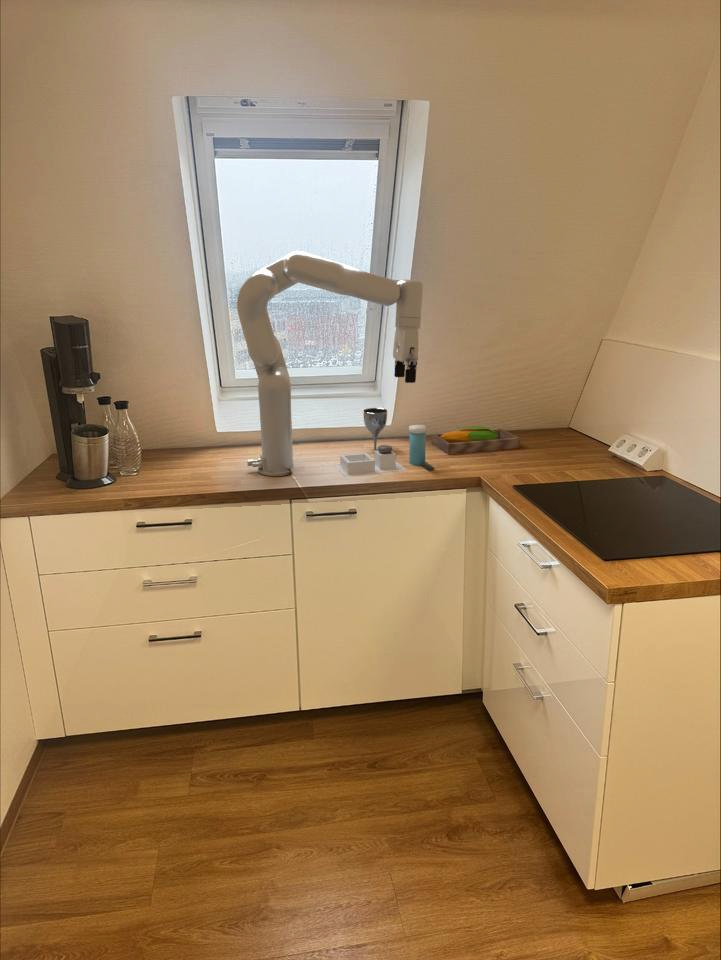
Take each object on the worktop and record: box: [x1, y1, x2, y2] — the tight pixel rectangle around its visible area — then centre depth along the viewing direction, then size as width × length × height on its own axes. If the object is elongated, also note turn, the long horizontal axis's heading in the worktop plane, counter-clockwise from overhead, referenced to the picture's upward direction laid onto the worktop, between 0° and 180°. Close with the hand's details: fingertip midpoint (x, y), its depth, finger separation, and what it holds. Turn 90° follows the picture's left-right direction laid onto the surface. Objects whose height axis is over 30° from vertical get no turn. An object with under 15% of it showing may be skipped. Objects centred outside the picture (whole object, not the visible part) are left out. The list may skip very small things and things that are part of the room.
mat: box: [422, 460, 435, 471], centre depth 212 cm, size 8×8×1 cm
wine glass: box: [363, 407, 388, 451], centre depth 225 cm, size 8×8×15 cm
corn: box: [440, 425, 498, 443], centre depth 234 cm, size 7×8×20 cm
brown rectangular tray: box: [431, 428, 522, 455], centre depth 236 cm, size 27×14×4 cm, turn 107°
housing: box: [333, 450, 407, 477], centre depth 207 cm, size 20×12×6 cm, turn 107°
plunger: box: [377, 444, 393, 454], centre depth 208 cm, size 4×4×6 cm
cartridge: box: [408, 424, 427, 468], centre depth 210 cm, size 5×5×12 cm
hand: (404, 379), depth 205 cm, fingers open, 9 cm apart
